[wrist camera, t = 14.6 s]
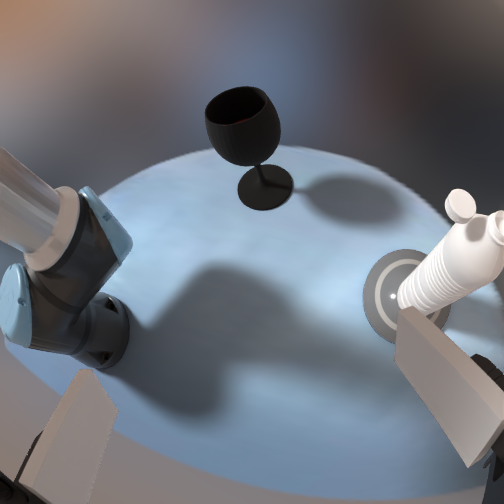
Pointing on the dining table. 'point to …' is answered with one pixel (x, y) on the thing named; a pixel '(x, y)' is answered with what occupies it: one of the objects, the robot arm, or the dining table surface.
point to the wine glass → (249, 143)
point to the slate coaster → (392, 292)
